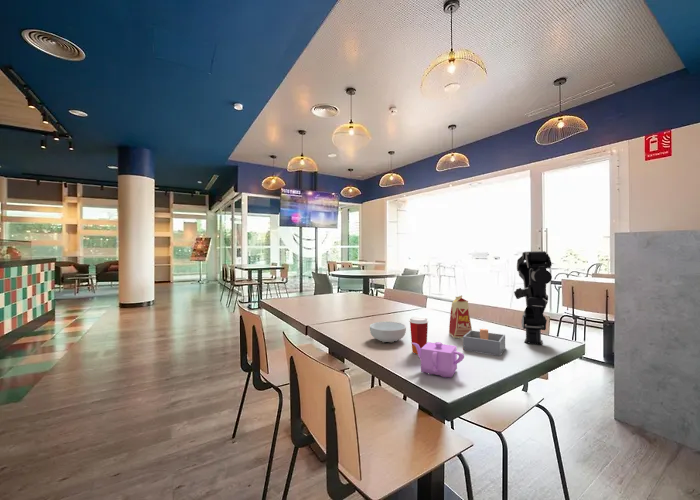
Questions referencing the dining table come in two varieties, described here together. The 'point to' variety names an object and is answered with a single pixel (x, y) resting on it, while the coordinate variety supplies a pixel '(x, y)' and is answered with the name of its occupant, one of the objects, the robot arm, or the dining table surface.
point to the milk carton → (459, 318)
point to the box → (484, 343)
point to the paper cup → (418, 331)
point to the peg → (484, 334)
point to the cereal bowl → (387, 331)
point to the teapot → (439, 358)
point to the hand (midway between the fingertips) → (538, 320)
